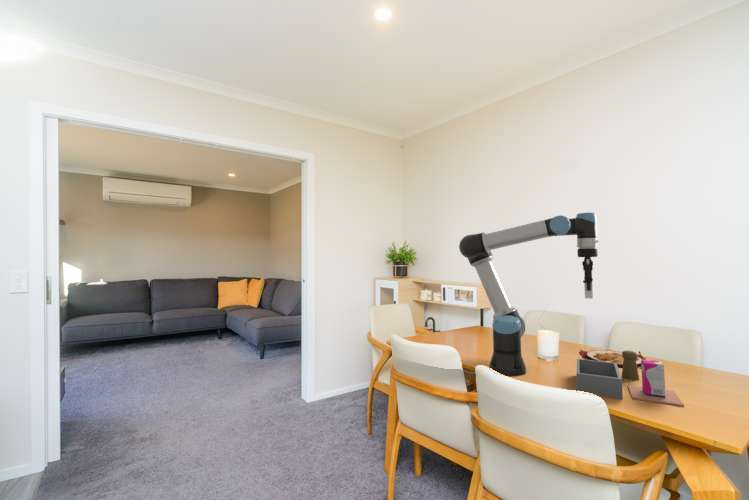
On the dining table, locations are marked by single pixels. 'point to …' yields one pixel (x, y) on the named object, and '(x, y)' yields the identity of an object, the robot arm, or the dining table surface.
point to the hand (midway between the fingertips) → (588, 296)
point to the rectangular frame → (599, 378)
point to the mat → (669, 396)
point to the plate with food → (609, 357)
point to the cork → (629, 366)
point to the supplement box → (653, 378)
